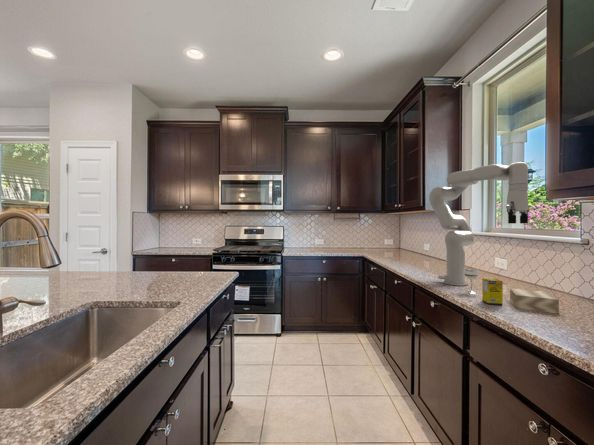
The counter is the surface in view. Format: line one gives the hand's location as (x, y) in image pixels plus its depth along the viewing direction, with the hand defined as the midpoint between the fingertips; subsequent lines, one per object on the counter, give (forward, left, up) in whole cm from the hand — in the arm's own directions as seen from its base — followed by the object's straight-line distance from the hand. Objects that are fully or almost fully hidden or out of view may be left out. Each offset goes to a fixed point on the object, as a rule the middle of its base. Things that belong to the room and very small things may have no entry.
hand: (518, 223), depth 139 cm
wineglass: (-19, 0, -36) cm, 41 cm away
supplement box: (-12, -18, -37) cm, 42 cm away
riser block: (+3, -15, -37) cm, 40 cm away
